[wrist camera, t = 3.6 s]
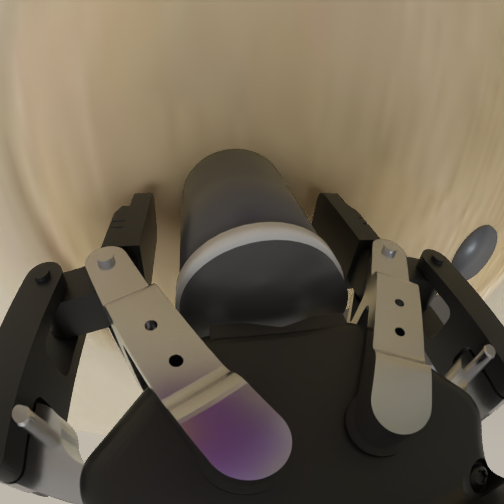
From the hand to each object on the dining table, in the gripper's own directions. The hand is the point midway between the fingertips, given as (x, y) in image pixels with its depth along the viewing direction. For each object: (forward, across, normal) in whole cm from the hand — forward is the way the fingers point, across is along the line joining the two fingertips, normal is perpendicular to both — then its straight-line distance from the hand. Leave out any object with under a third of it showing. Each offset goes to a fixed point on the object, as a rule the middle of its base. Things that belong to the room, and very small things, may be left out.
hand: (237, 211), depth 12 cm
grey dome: (+2, -20, +4) cm, 20 cm away
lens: (+1, 0, 0) cm, 1 cm away
